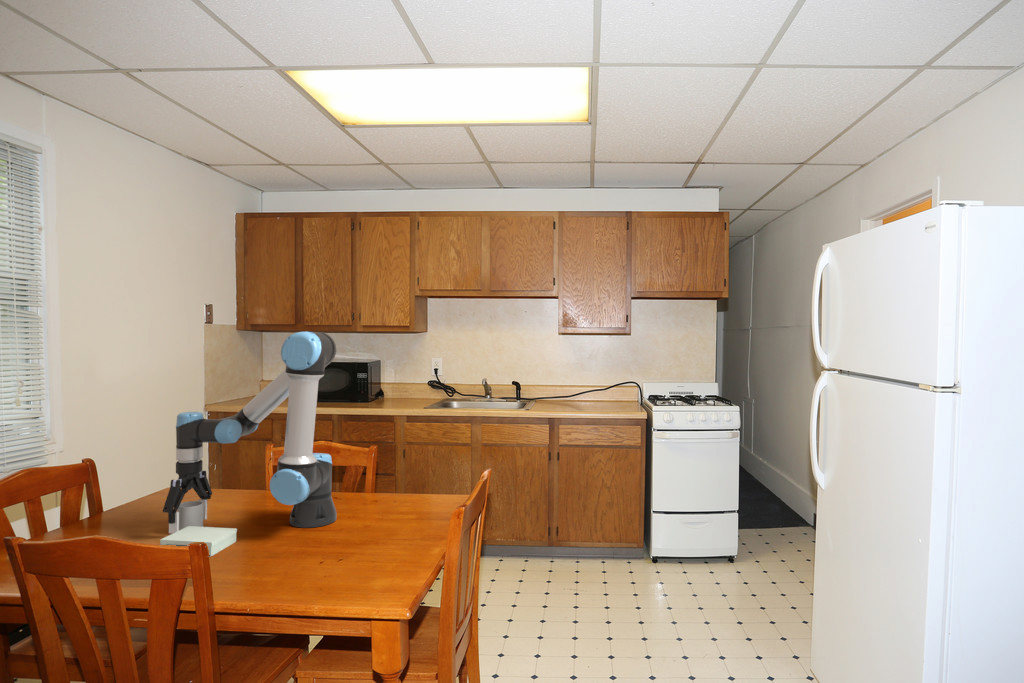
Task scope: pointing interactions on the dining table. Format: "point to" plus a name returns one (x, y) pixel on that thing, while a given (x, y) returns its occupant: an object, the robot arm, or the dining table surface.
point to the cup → (190, 514)
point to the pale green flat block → (203, 537)
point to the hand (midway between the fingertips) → (188, 525)
